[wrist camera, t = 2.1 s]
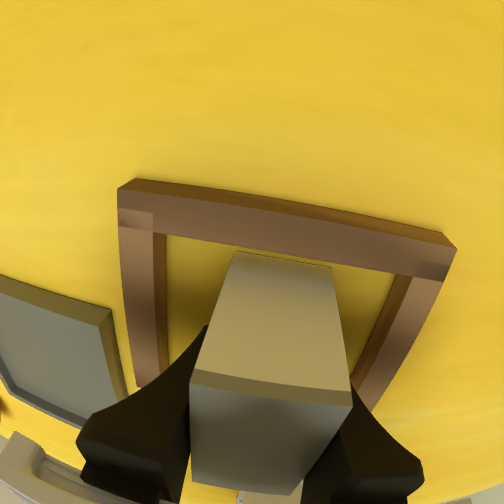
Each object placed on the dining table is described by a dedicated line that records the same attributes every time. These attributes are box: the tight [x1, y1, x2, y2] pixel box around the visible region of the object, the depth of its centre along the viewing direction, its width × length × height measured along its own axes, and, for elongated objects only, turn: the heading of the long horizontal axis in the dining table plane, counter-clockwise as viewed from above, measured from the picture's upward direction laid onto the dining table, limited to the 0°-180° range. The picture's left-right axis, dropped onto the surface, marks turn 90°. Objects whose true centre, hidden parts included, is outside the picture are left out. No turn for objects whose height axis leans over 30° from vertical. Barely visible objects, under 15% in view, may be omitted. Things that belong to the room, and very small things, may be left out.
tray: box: [0, 275, 128, 430], centre depth 18 cm, size 14×14×2 cm
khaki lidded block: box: [189, 251, 353, 496], centre depth 12 cm, size 7×4×7 cm, turn 172°
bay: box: [117, 178, 457, 413], centre depth 14 cm, size 11×13×2 cm
